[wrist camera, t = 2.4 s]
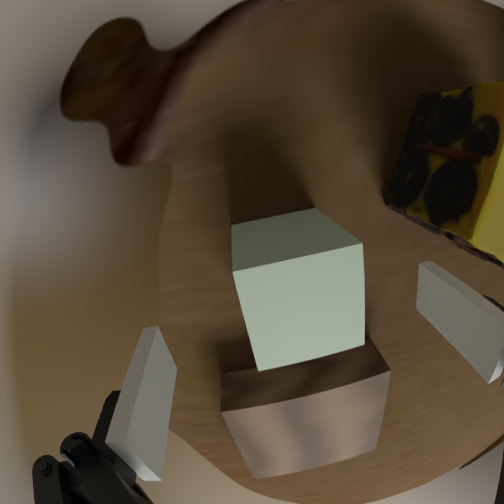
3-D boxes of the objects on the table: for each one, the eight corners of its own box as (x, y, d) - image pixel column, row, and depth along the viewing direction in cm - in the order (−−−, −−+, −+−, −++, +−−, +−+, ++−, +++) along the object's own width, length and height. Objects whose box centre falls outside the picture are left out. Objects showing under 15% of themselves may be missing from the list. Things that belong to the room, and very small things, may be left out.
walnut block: (368, 336, 25) (391, 370, 20) (362, 419, 30) (375, 449, 25) (221, 371, 25) (220, 412, 20) (251, 446, 30) (254, 479, 25)
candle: (456, 246, 22) (531, 292, 13) (378, 205, 21) (466, 249, 11) (488, 150, 19) (569, 166, 10) (417, 91, 18) (510, 77, 8)
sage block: (315, 207, 20) (362, 243, 13) (324, 283, 22) (364, 344, 15) (231, 225, 20) (232, 272, 13) (248, 300, 22) (258, 371, 15)
